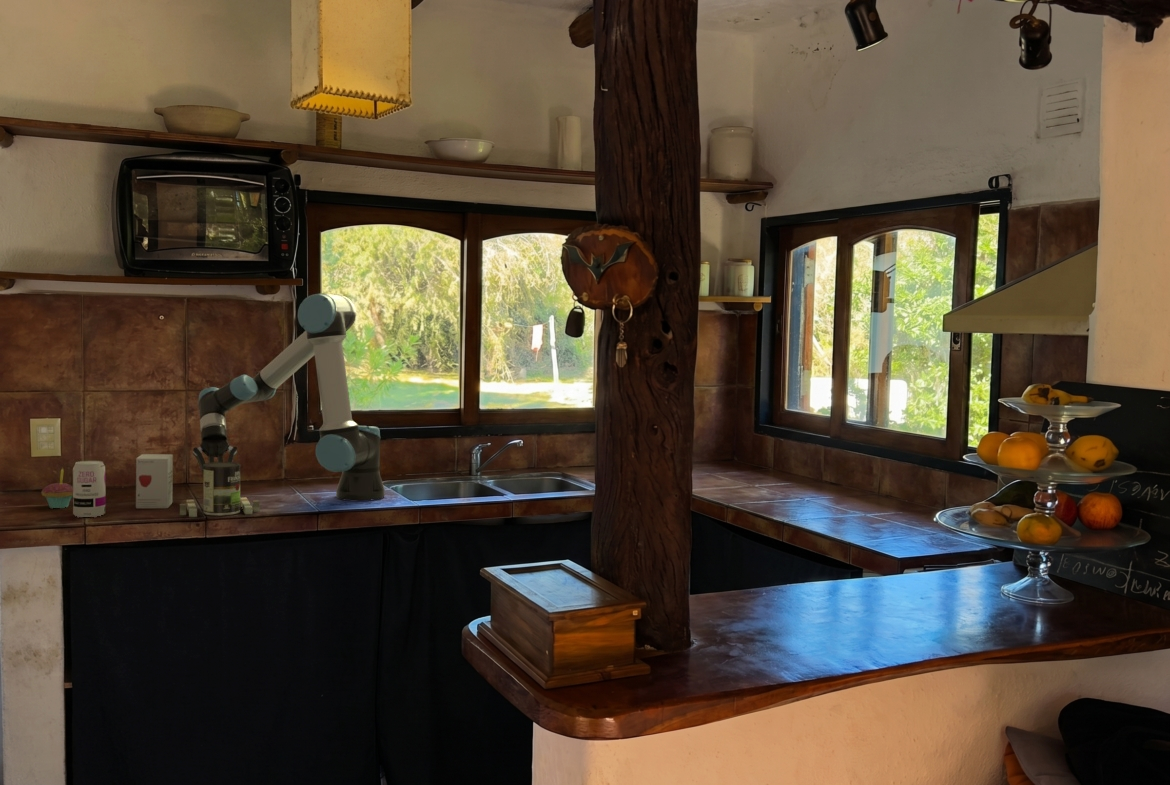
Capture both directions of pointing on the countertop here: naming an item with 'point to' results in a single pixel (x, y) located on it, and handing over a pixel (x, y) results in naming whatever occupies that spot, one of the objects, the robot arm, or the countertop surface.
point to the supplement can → (89, 489)
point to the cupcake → (58, 493)
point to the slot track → (243, 502)
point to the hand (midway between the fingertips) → (218, 494)
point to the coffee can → (221, 488)
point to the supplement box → (154, 480)
